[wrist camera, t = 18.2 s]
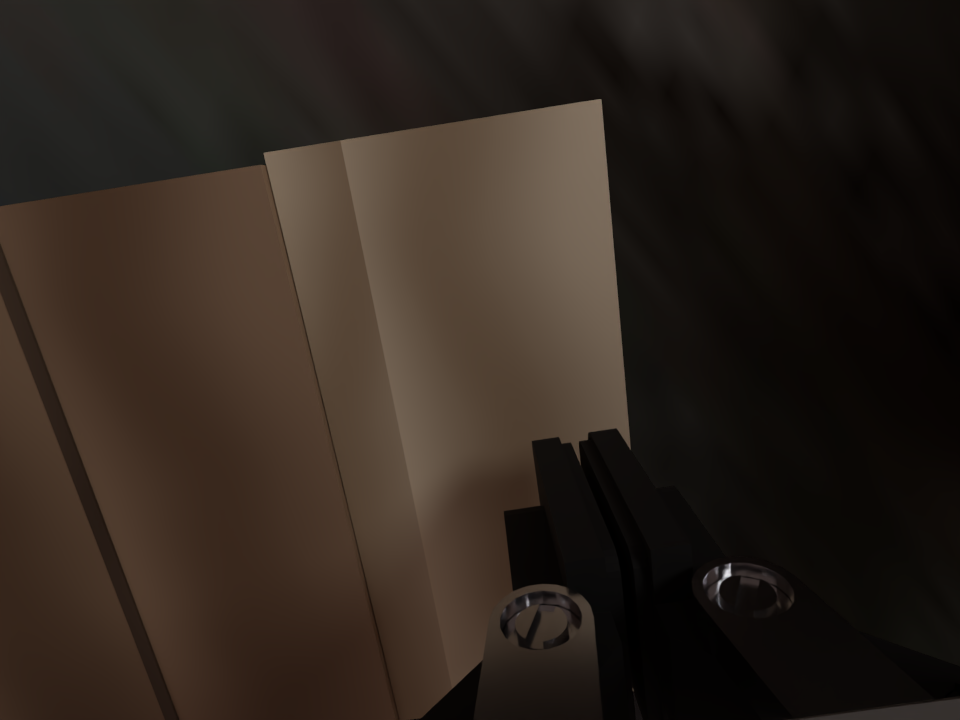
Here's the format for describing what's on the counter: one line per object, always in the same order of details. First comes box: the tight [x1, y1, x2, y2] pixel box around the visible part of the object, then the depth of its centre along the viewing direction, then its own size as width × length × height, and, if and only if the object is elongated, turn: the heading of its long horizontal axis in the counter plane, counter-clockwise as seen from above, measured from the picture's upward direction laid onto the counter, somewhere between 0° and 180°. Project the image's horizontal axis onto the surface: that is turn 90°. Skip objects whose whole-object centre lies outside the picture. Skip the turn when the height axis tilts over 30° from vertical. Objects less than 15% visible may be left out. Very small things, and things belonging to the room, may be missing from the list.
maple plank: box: [264, 99, 634, 720], centre depth 15 cm, size 6×14×4 cm, turn 8°
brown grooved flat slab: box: [0, 165, 399, 720], centre depth 15 cm, size 12×14×4 cm
